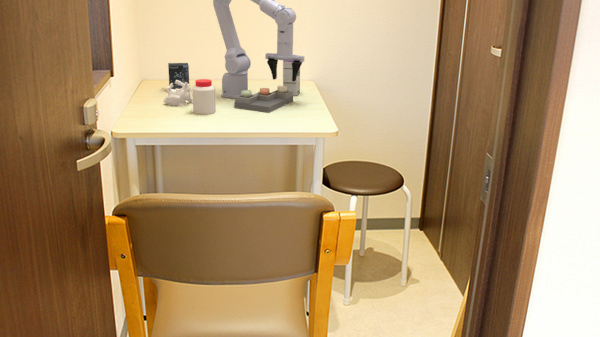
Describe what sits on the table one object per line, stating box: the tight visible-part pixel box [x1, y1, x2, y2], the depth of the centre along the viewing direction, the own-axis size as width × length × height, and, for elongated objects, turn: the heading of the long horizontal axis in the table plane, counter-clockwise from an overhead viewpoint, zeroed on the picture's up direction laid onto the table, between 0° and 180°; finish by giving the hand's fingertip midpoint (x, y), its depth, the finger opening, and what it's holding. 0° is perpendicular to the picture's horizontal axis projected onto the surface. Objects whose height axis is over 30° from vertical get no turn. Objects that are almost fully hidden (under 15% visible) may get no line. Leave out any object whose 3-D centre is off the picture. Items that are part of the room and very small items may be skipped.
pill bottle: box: [191, 78, 217, 116], centre depth 208 cm, size 8×8×11 cm
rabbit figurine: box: [163, 80, 193, 107], centre depth 217 cm, size 12×8×10 cm, turn 101°
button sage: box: [241, 90, 252, 98], centre depth 217 cm, size 4×4×2 cm
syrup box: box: [282, 60, 301, 97], centre depth 236 cm, size 6×6×14 cm
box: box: [167, 62, 190, 90], centre depth 239 cm, size 8×6×11 cm
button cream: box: [276, 85, 287, 93], centre depth 225 cm, size 4×4×2 cm
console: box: [233, 89, 294, 114], centre depth 222 cm, size 14×20×4 cm
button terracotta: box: [259, 87, 270, 96], centre depth 221 cm, size 4×4×2 cm
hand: (284, 79), depth 223 cm, fingers open, 7 cm apart
